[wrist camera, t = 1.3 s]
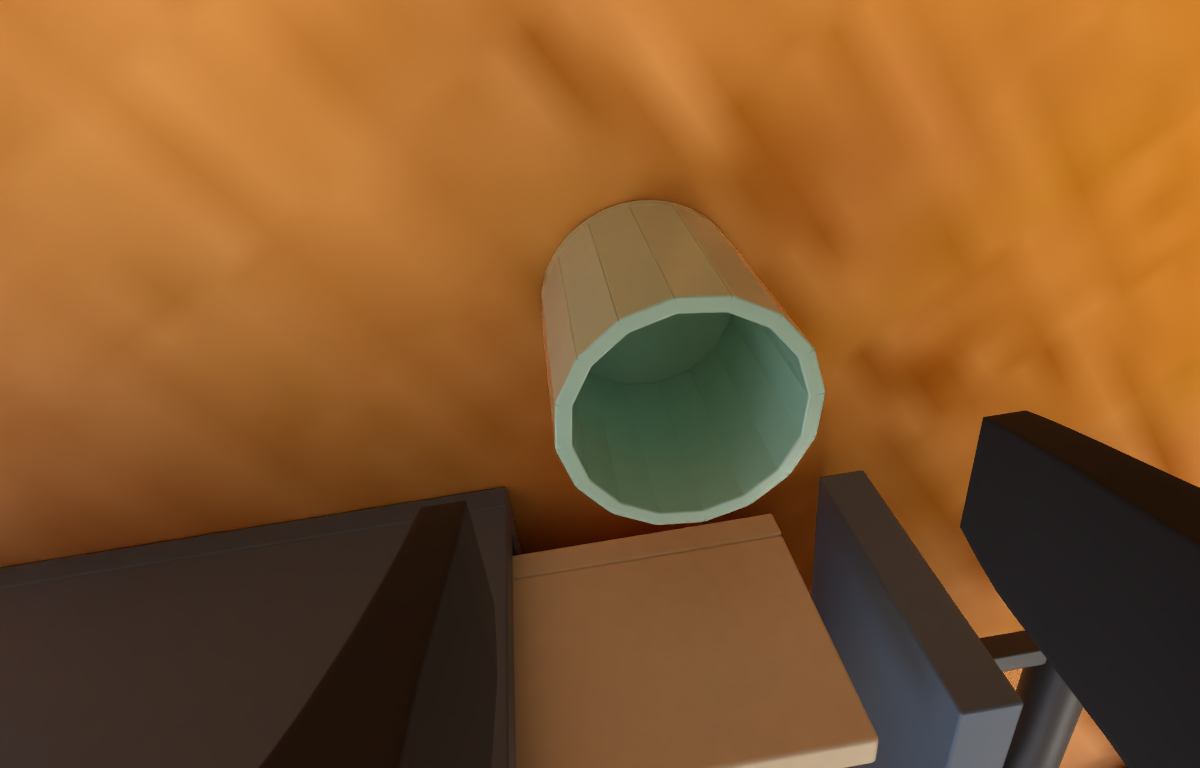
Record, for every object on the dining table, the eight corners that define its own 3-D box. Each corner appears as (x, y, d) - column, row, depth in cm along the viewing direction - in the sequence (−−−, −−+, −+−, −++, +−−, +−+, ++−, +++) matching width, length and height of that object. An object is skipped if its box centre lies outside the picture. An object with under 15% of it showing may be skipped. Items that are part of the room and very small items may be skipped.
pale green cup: (762, 342, 17) (846, 470, 13) (586, 411, 18) (612, 557, 14) (708, 164, 15) (790, 250, 11) (506, 249, 15) (507, 364, 11)
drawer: (1022, 443, 19) (1253, 662, 13) (956, 707, 25) (1095, 937, 19) (301, 560, 18) (206, 849, 12) (413, 803, 24) (384, 1074, 18)
